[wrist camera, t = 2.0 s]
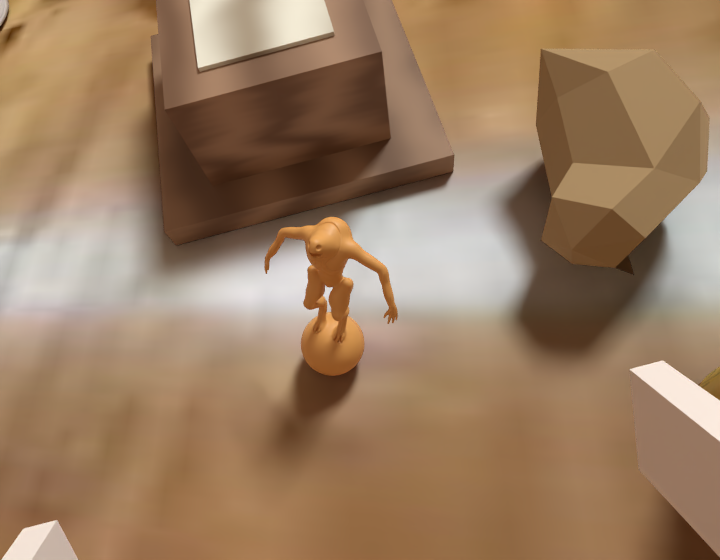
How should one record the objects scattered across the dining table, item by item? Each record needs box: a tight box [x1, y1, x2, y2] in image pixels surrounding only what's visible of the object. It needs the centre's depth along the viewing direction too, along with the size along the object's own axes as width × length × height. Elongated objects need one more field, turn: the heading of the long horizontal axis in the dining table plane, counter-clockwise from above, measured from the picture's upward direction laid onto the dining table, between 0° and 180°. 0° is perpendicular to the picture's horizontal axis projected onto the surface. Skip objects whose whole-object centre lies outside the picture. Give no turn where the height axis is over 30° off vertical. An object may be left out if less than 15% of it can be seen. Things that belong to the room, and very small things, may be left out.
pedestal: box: [151, 0, 454, 245], centre depth 41 cm, size 22×22×10 cm
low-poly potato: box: [536, 49, 710, 275], centre depth 33 cm, size 15×11×12 cm
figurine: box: [265, 217, 398, 376], centre depth 30 cm, size 8×6×12 cm
